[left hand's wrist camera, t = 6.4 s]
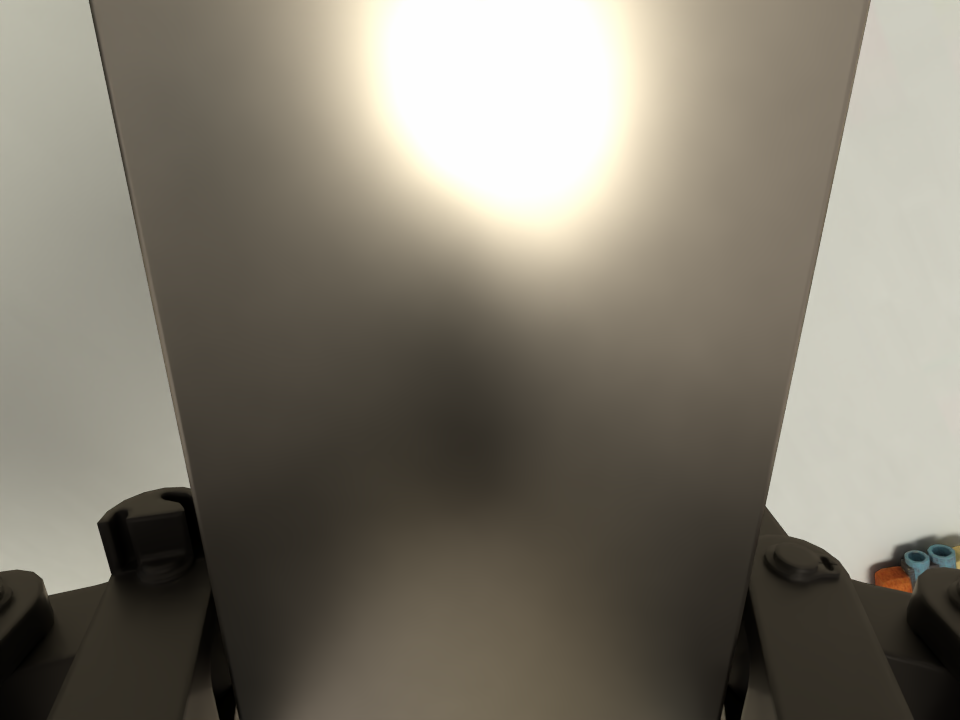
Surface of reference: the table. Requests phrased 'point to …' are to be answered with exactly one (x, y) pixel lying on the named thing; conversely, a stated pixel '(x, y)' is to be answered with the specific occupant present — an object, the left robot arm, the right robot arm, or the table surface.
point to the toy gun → (917, 567)
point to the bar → (479, 331)
